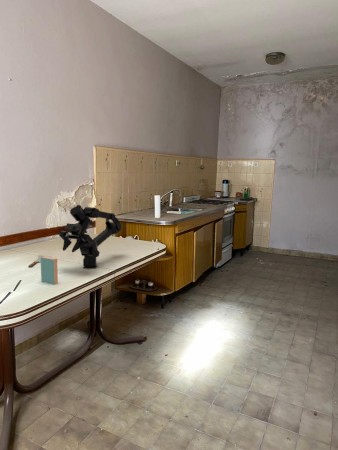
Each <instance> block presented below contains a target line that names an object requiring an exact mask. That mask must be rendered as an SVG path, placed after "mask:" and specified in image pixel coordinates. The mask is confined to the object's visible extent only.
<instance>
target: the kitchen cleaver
mask: <svg viewBox="0 0 338 450" xmlns="http://www.w3.org/2000/svg"><path fill="white" fill-rule="evenodd" d="M43 256H44V255H42V254H41V255H38V256H37V257H38V258H37V259H35V260H34V261H33V262H32V263H30V264H29V265H28V268H30V269H31V268H34V266H36V265H37V264H41V257H43ZM45 256H46V257H52V258H53V256H51V255H45Z"/></svg>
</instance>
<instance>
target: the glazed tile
mask: <svg viewBox="0 0 338 450" xmlns="http://www.w3.org/2000/svg"><path fill="white" fill-rule="evenodd" d="M42 256H43V257H41V263H40V275H41V277H40V279H41V282H42V283H45V282H46V284H51V285H57V284H59V277H58V276H59V273H58V258H57V257H53V256H52V257H46V256H47V255H42Z"/></svg>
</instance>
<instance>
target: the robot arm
mask: <svg viewBox="0 0 338 450" xmlns="http://www.w3.org/2000/svg"><path fill="white" fill-rule="evenodd" d="M69 214H70V215H71V216H72V218H73V219H74V220H75V221H76V222H77V223H69V222H68V223H66V224H65V229H64V230H60V231H59V232H58V236H59V237H60V238H61V239H62V240H63V243H62V244H63V246H62V251H63V252H65V251H66V250H67V249H68V248H69V246H71V244H72V239H73V240H76V241H75V243H74V245H73V247H72V250H71V252H72V253H75V252H76V251H77V250H80V251H79V252H80V255H81V256H82V257H83V259H82V265H83V266H82V267H83V269H96V268H97V266H98V264H97V258H99V256H100V251H99V250H98V247H100V245H101V244H103V243H104V242H105V241H106V240H107V239H108V238H110V237H111V236H112V235H117V234H118V233H120V232H121V230H122V224H121V222H120V220H119V219H118V218H117V216H116V214H115V213H112V212H106V211H102V210H100V209H99V208H97V207H92V206H91V207H90V206H85V207H84V208H83V207H82V205H80V204H77V205H76V206H73V208H71V209H70V211H69ZM98 218H100V219H104V220H105V229H103V231H101V232H100V233H99V234H98V235H96V236H95V237H94V238H92V237H91V235H90V234H89V233H88V231H87V230H88V229H89V226H93V225H94V223H93V220H92V219H98ZM65 230H66V231H65Z"/></svg>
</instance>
